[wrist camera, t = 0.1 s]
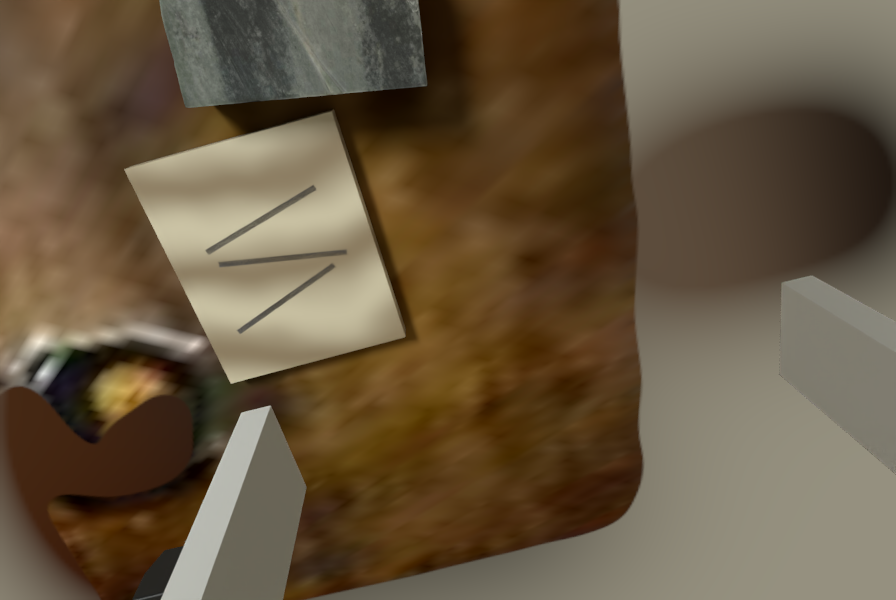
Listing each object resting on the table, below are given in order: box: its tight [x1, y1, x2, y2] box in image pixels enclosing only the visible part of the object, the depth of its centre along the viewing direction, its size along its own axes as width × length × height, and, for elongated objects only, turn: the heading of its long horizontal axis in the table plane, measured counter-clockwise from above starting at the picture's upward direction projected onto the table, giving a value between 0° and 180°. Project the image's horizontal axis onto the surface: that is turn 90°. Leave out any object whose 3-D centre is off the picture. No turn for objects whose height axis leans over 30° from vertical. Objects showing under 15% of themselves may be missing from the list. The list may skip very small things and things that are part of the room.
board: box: [124, 109, 406, 384], centre depth 41 cm, size 17×14×2 cm
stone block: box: [160, 0, 427, 108], centre depth 33 cm, size 9×14×5 cm, turn 94°
